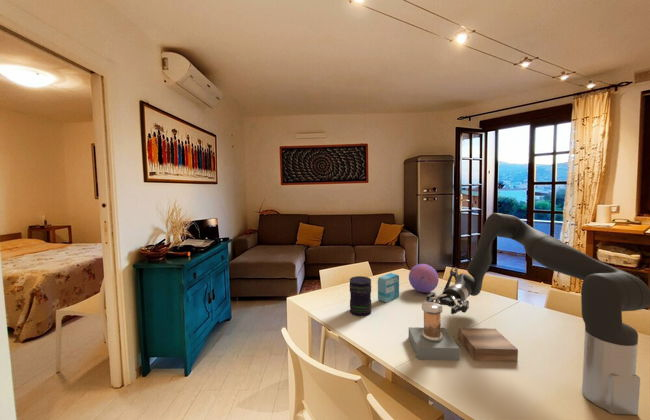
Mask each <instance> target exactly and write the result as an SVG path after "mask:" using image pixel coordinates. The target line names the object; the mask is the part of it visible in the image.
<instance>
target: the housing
mask: <svg viewBox="0 0 650 420" xmlns="http://www.w3.org/2000/svg"><path fill="white" fill-rule="evenodd" d="M434 302H435V301H434ZM434 302H423V303H422V304H421V310H422V311H423V328H424V330H423V331H422V337H423V338H424V339H425V340H427V341H431V342H440V341H441V340H442V333H441V328H442V327H441V321H442V320H441V318H442V317H441V316H442V315H441V314H442V313H443V305H440V304H438V303H434Z"/></svg>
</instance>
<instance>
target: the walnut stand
mask: <svg viewBox="0 0 650 420" xmlns="http://www.w3.org/2000/svg"><path fill="white" fill-rule="evenodd" d="M457 330H458V335H457V337H458V340H459V341H460V343H461V345H463V347H464V348H465V350H467V352H468V353H469V354H470V356H471V357H472V358H473V360H474V361H478V362H479V361H481V362H482V361H483V362H484V361H485V362H518V361H519V360H518V359H519V358H518V356H519V349H518V347H516V346H515V345H514V344H513V343H511V341H509V340H508V339H507V338H506V337H505V336H504V335H503V334H502V333H500V332H499V331H498V330H497V329H496V328H483V327H482V328H481V327H480V328H478V327H477V328H473V327H471V328H469V327H458V329H457Z"/></svg>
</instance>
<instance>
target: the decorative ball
mask: <svg viewBox="0 0 650 420" xmlns="http://www.w3.org/2000/svg"><path fill="white" fill-rule="evenodd" d="M408 280H409V284H410V286H411V287H412V288H413V289H414V290H416V291H417V292H420V293H424V294H425V293H428V294H429V293H430V292H431V293H432V292H434V290H435V289H436V288H437V286H438V285H439V274H438V273H437V270H436V269H435V268H434V267H433V266H431V265H429V264H427V263H418V264H416V265H414V266H413V267H412V268H411V269H410V271H409V274H408Z"/></svg>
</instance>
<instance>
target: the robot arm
mask: <svg viewBox="0 0 650 420" xmlns="http://www.w3.org/2000/svg"><path fill="white" fill-rule="evenodd" d="M497 237H499V238H504V239H510V240H513V241H516V242H517V243H519V244H520V245H522V246H523V248H524V251H525V253H526V254H527V256H529V257H530V258H531V259H532V260H534V261H536V262H537V263H538V264H540V265H541V266H543V267H545V268H546V269H548V270H552V271H555V272H556V273H560V274H563V275H565V276H566V275H567V276H569V277H572V278H575V279H578V280H581V281H582V283H581V290H580V299H581V300H580V301H581V302H580V303H581V306H580V307H581V318H582V320H583V322H584V344H583V360H582V361H583V362H582V363H583V364H582V382H581V383H582V384H581V386H582V387H581V393H582V395H583V396H584V397H585V398H586V399H587V400H588V401H589V402H591V403H592V404H594V405H596V406H597V407H599V408H601V409H604V410H605V411H607V412H608V413H609V414H612V415H633V416H634V415H636V416H637V415H639V401H640V387H641V378H640V376H638V375H636V373H637V361H638V360H637V357H638V343H639V334H638V331H637V330H636V329H635V328H634V327H632V326H630V325H628V324H626V323H624V322H623V316H622V315H623V312H634V311H641V310H644V309H648V308H649V307H650V287H649V286H648V285H647V284H646V283H645V282H644V281H643V279H641V278H639V277H638V276H635V275H634V274H632V273H629V272H627V271H624V270H622V269H620V268H616V267H614V266H612V265H609V264H608V263H607V264H606V263H605V262H602V261H600V260H597V259H596V258H593V257H591V256H590V255H588V254H586V253H584V252H582V251H581V250H578V249H576V248H575V247H572V246H570V245H568V244H567V243H565V242H563V241H561V240H560V239H558V238H556V237H554V236H551V235H549V234H548V233H545V232H543V231H540V230H538V229H536V228H534V227H532V226H531V225H529V224H527V223H526V222H525V221H523V220H522V219H521V218H519V217H517V216H515V215H511V214H505V213H499V212H494V213H491V214H490V215H488V216H487V218H486V220H485V222H484V225H483V228H482V231H481V234H480V238H479V240H478V243H477V247H476V249H475V252H474V255H473V256H472V258H471V259H470V261H469V263H468V265H467V267H466V271H467V273H468V274H467V273H464V272H463V273H459V274H458V276H457V278H456V281H454V283H453V284H450V286H449V287H448V288H447V289H446V290H444V289H443V292H442V293H440V294H439V295H438V294H436V292H435V291H431V293H428V294H427V295H426V302H434V303H438V304H440V305H441V306H447V307H449V308H450V314H451V315H454V314H457V313H459V312H461V313H467V311H468V309H469V308H470V302H469V300H467V298H469V297H470V296H472V297H475V296H478V295H479V294H481V291H482V287H483V281H484V277H485V275H486V273H487V271H488V270H489V268H490V266H491V264H492V261H493V257H492V248H491V247H492V244H493V242H494V240H495V239H496V238H497Z"/></svg>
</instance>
